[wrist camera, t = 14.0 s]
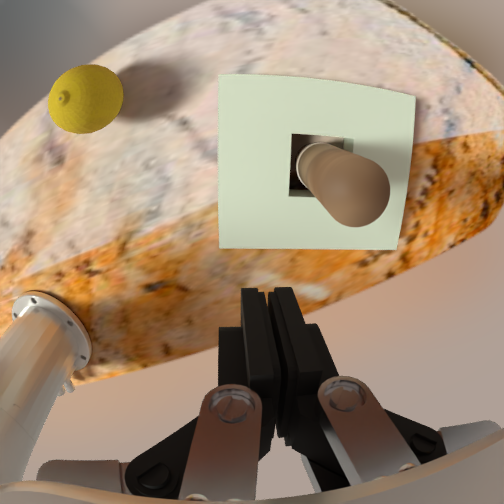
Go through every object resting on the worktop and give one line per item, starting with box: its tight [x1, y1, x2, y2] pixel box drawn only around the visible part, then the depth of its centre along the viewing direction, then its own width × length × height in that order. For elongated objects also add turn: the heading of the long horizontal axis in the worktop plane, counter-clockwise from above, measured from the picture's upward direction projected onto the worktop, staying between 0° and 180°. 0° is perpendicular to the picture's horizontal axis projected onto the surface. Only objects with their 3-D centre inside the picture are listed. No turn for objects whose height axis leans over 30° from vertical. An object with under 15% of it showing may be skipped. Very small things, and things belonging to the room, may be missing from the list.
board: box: [218, 74, 416, 250], centre depth 24 cm, size 14×16×2 cm
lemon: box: [48, 65, 124, 134], centre depth 18 cm, size 6×6×8 cm
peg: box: [295, 142, 390, 227], centre depth 20 cm, size 4×4×11 cm
